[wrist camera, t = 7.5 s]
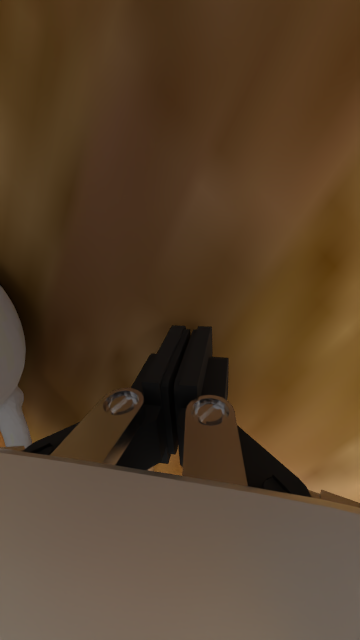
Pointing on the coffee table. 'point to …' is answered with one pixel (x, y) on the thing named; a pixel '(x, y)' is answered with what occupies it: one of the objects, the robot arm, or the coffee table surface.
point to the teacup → (11, 375)
